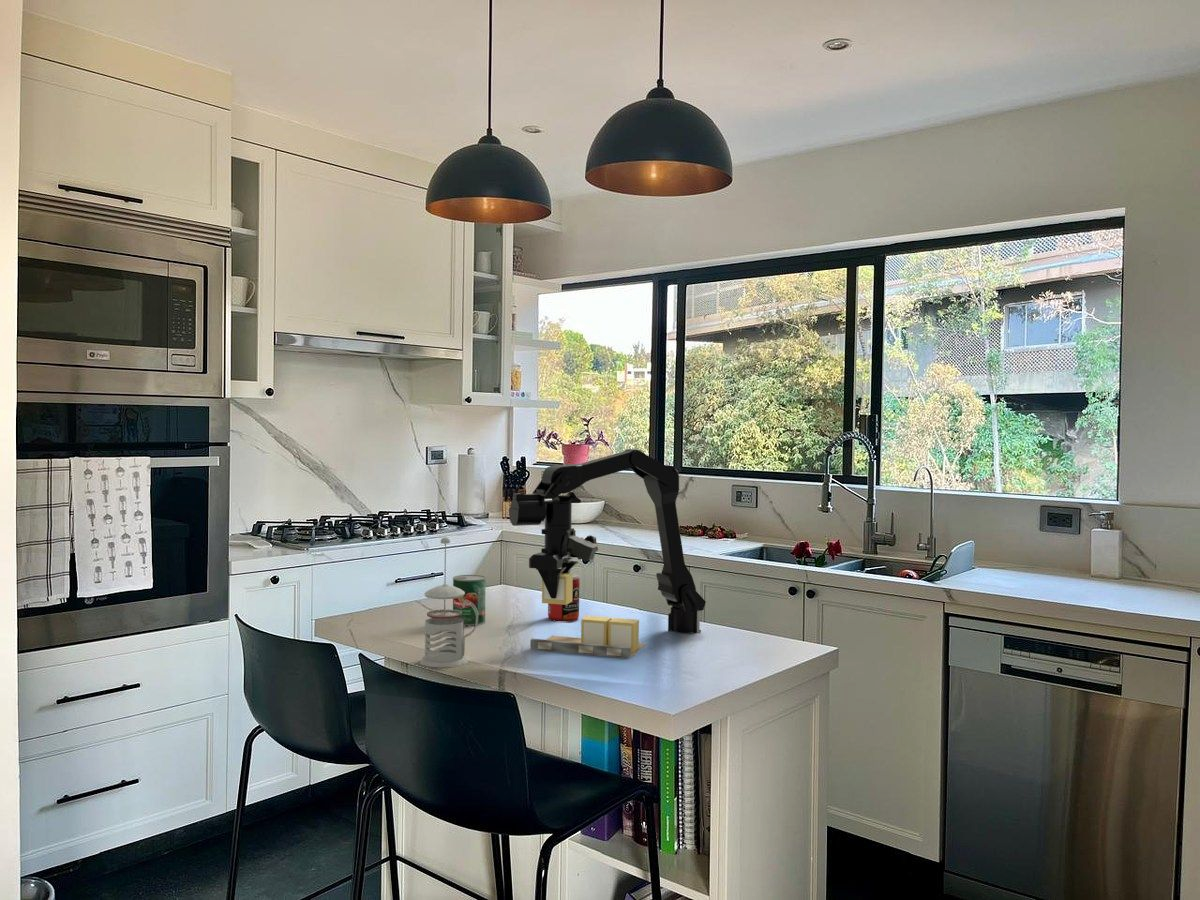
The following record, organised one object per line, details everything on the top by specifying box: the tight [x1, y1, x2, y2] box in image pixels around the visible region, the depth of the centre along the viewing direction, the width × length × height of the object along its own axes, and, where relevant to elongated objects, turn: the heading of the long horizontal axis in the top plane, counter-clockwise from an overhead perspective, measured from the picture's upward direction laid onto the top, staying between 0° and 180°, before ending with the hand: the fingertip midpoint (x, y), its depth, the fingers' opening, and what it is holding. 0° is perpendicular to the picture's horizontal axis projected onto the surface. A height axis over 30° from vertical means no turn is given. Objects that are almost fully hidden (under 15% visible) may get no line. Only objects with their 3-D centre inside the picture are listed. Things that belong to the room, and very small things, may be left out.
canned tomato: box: [452, 574, 487, 626], centre depth 214 cm, size 8×8×11 cm
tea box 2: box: [608, 617, 640, 652], centre depth 186 cm, size 6×4×6 cm
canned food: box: [547, 572, 581, 622], centre depth 220 cm, size 8×8×11 cm
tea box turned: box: [541, 573, 573, 605], centre depth 190 cm, size 6×4×6 cm
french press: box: [419, 537, 478, 668], centre depth 178 cm, size 10×12×25 cm
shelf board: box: [529, 635, 646, 660], centre depth 188 cm, size 22×13×3 cm, turn 73°
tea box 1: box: [580, 615, 613, 645], centre depth 188 cm, size 6×4×6 cm
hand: (557, 596), depth 190 cm, fingers closed on tea box turned, 4 cm apart
